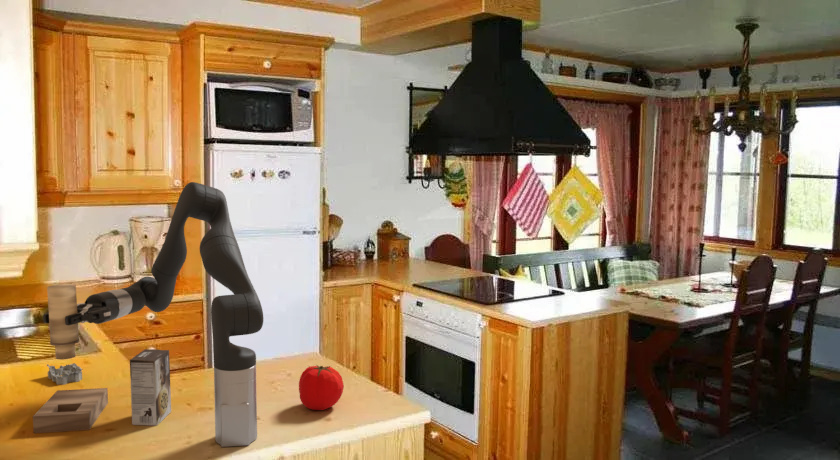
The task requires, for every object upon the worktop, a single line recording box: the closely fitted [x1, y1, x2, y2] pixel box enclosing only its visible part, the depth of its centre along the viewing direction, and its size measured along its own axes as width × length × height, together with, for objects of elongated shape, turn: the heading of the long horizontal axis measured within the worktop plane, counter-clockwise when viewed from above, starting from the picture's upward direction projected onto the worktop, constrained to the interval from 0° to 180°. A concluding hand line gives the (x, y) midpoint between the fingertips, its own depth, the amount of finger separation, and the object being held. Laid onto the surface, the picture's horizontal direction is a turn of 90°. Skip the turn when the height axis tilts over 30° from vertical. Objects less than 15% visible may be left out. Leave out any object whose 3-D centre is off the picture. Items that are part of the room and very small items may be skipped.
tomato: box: [298, 365, 344, 411], centre depth 179 cm, size 12×12×11 cm
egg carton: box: [46, 363, 84, 385], centre depth 200 cm, size 11×8×4 cm
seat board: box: [32, 387, 109, 434], centre depth 171 cm, size 18×12×4 cm, turn 11°
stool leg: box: [46, 283, 80, 360], centre depth 165 cm, size 6×6×17 cm
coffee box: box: [129, 348, 172, 427], centre depth 170 cm, size 9×6×16 cm
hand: (55, 319), depth 163 cm, fingers closed on stool leg, 6 cm apart
